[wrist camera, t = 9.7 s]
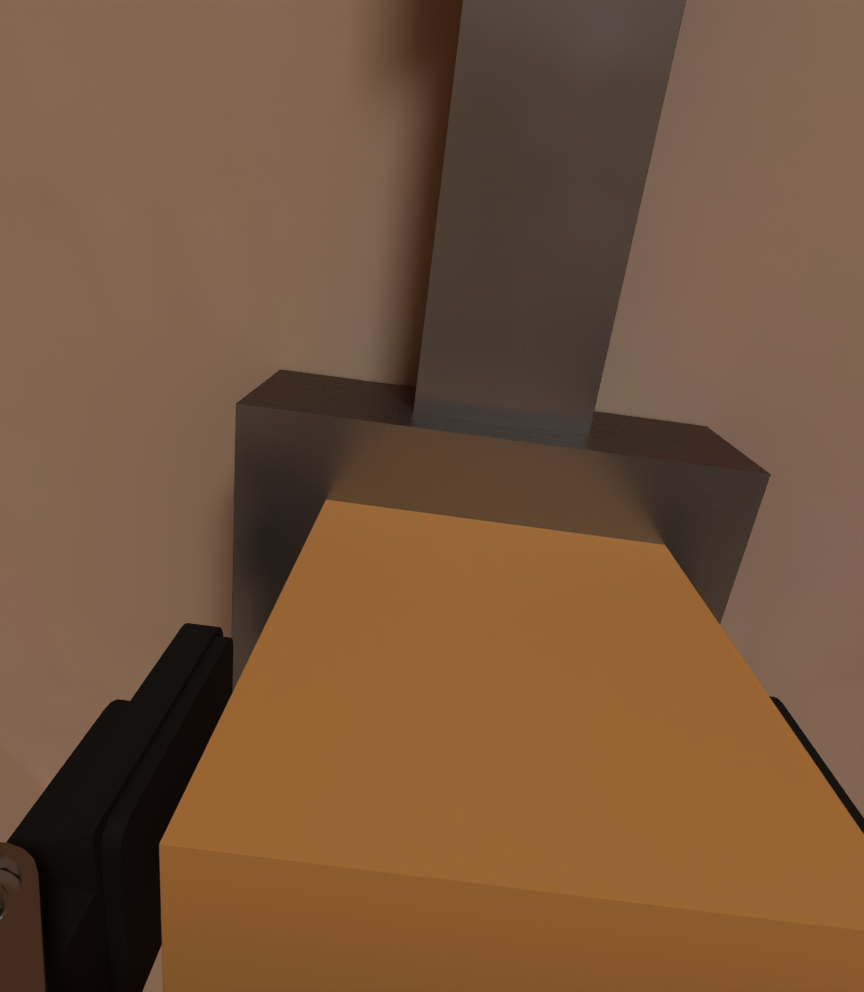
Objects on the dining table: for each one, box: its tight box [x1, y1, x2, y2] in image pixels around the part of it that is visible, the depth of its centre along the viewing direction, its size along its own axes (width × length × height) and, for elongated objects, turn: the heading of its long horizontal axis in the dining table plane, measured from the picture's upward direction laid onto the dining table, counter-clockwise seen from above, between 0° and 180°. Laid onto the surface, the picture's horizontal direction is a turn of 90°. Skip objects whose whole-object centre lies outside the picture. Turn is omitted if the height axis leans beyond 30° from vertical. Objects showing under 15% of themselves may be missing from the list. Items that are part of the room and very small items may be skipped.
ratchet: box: [232, 0, 770, 691], centre depth 9 cm, size 29×9×6 cm, turn 173°
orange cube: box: [159, 500, 864, 992], centre depth 9 cm, size 6×6×7 cm
